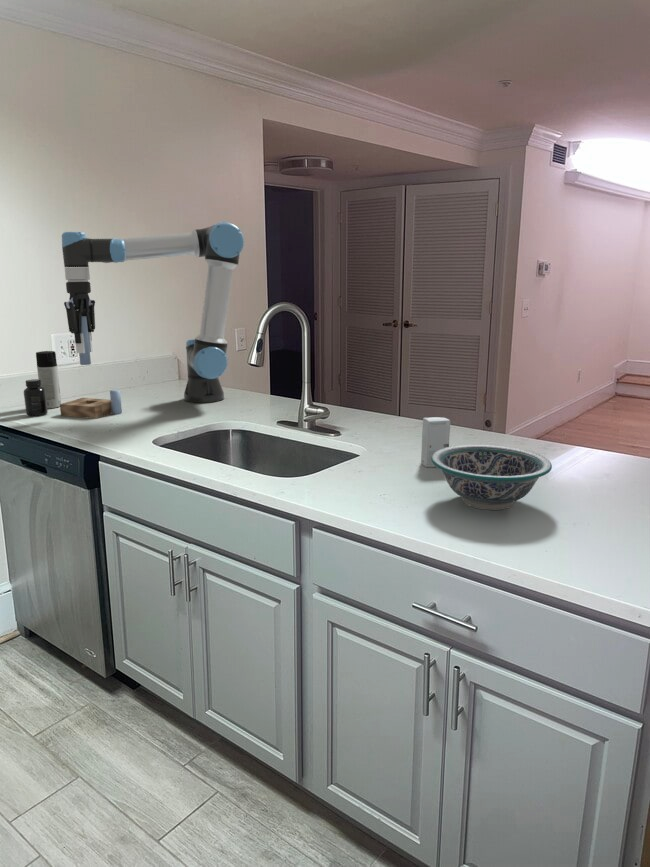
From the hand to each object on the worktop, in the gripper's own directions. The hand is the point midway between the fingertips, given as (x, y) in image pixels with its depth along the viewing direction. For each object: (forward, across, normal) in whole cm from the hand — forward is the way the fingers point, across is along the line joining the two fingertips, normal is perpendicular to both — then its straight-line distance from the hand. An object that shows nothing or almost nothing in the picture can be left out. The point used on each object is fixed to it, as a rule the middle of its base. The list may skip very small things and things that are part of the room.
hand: (84, 352), depth 220 cm
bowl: (+22, +50, +136) cm, 147 cm away
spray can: (+22, -6, -21) cm, 31 cm away
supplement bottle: (+22, +6, -17) cm, 28 cm away
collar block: (+21, -1, -1) cm, 21 cm away
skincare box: (+22, +26, +122) cm, 126 cm away
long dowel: (+4, 0, 0) cm, 4 cm away
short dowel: (+21, -4, +8) cm, 23 cm away
